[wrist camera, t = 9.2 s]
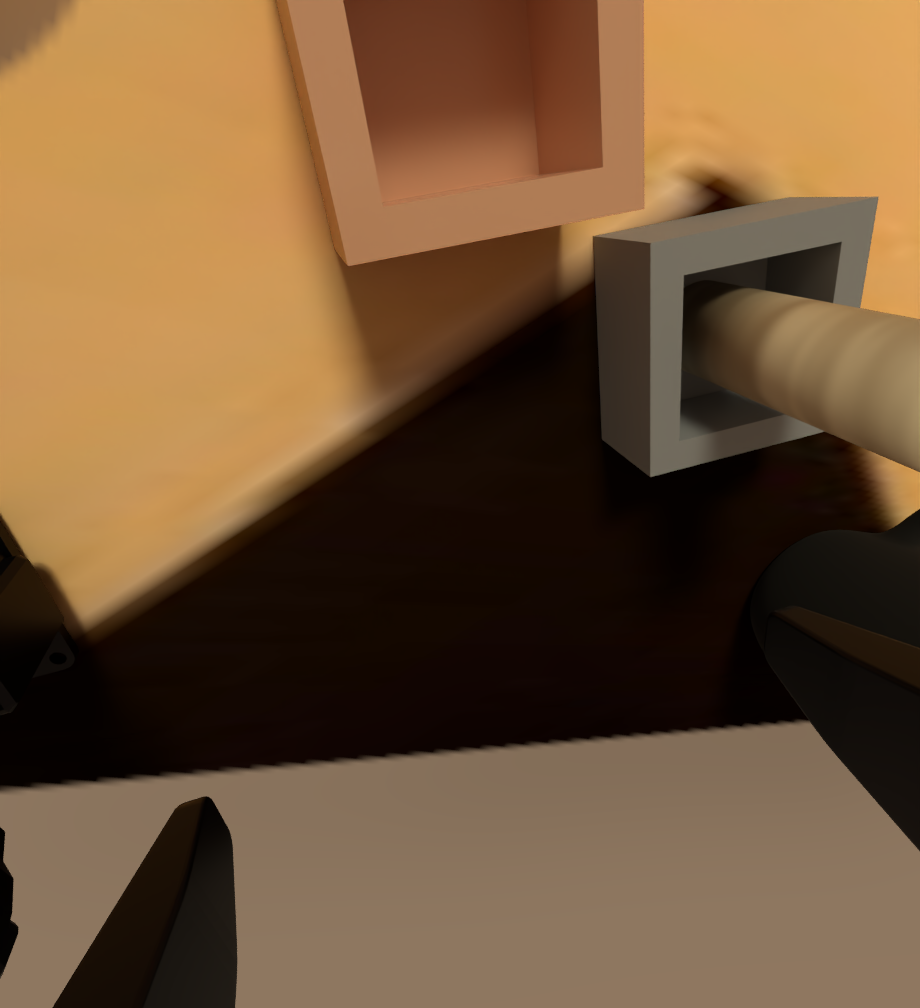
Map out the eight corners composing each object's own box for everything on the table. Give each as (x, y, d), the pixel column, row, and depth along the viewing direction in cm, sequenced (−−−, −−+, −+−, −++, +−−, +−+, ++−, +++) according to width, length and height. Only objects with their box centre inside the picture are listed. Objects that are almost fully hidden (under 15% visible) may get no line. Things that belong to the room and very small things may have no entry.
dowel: (657, 377, 21) (913, 500, 12) (659, 289, 20) (947, 358, 11) (734, 360, 22) (1031, 466, 13) (740, 272, 20) (1080, 325, 11)
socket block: (601, 439, 22) (650, 477, 19) (593, 236, 19) (650, 243, 16) (769, 397, 23) (840, 427, 20) (789, 197, 20) (878, 196, 17)
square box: (334, 249, 17) (348, 266, 13) (258, -72, 14) (242, -196, 10) (561, 206, 18) (644, 208, 14) (541, -103, 15) (643, -228, 11)
